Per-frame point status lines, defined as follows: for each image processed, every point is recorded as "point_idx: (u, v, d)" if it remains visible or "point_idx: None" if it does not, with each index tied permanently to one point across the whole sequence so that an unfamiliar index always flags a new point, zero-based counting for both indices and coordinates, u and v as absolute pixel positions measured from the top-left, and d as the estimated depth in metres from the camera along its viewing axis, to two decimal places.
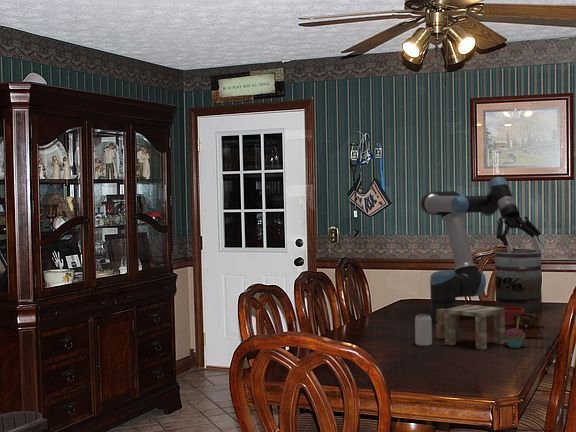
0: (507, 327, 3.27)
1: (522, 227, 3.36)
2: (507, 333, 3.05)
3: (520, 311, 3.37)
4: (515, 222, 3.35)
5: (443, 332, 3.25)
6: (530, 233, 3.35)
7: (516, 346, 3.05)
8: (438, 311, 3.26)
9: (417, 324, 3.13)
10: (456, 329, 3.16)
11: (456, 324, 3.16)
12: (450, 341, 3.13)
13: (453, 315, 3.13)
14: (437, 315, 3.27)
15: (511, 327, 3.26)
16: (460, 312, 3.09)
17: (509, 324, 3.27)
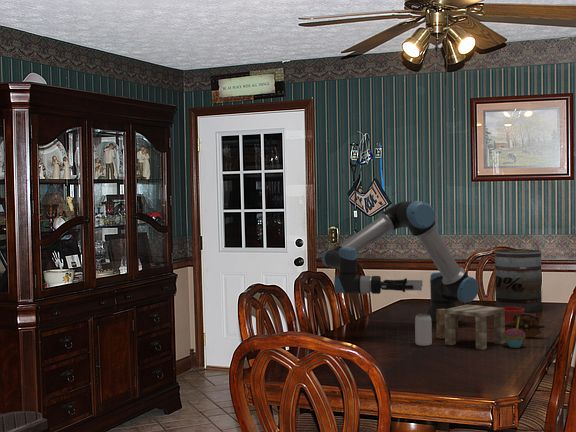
0: (507, 327, 3.27)
1: None
2: (507, 333, 3.05)
3: (520, 311, 3.37)
4: None
5: (443, 332, 3.25)
6: None
7: (516, 346, 3.05)
8: (438, 311, 3.26)
9: (417, 324, 3.13)
10: (456, 329, 3.16)
11: (456, 324, 3.16)
12: (450, 341, 3.13)
13: (453, 315, 3.13)
14: (437, 315, 3.27)
15: (511, 327, 3.26)
16: (460, 312, 3.09)
17: (509, 324, 3.27)
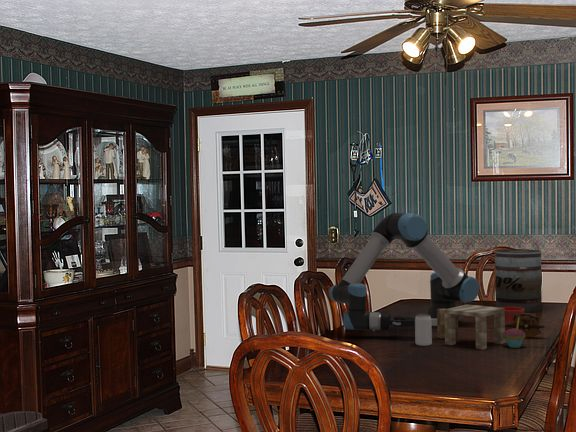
0: (507, 327, 3.27)
1: None
2: (507, 333, 3.05)
3: (520, 311, 3.37)
4: None
5: (444, 332, 3.25)
6: None
7: (516, 346, 3.05)
8: (439, 311, 3.26)
9: (417, 324, 3.13)
10: (456, 329, 3.16)
11: (456, 324, 3.16)
12: (450, 341, 3.13)
13: (453, 315, 3.13)
14: (438, 315, 3.27)
15: (511, 327, 3.26)
16: (460, 312, 3.09)
17: (509, 324, 3.27)
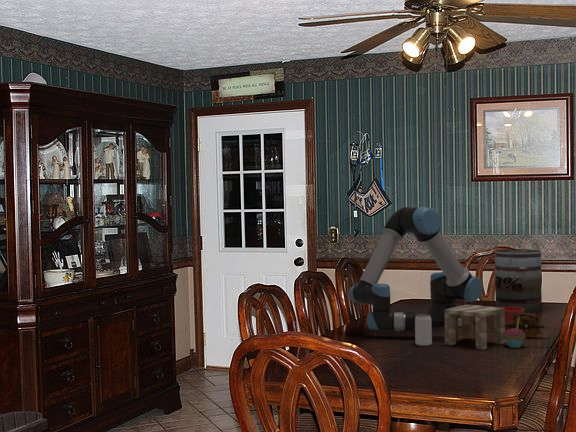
0: (507, 327, 3.27)
1: None
2: (507, 333, 3.05)
3: (520, 311, 3.37)
4: None
5: (464, 332, 3.24)
6: None
7: (516, 346, 3.05)
8: None
9: (417, 324, 3.13)
10: None
11: None
12: (450, 341, 3.13)
13: (453, 315, 3.13)
14: None
15: (511, 327, 3.26)
16: (460, 312, 3.09)
17: (509, 324, 3.27)
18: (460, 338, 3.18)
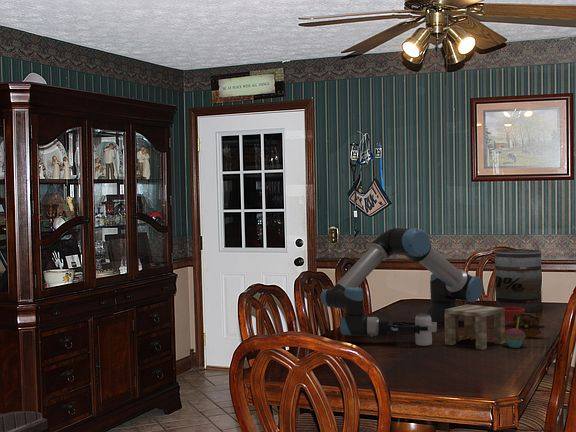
0: (507, 327, 3.27)
1: None
2: (507, 333, 3.05)
3: (520, 311, 3.37)
4: None
5: (466, 332, 3.23)
6: None
7: (516, 346, 3.05)
8: None
9: (417, 324, 3.13)
10: None
11: None
12: (450, 341, 3.13)
13: (453, 315, 3.13)
14: None
15: (511, 327, 3.26)
16: (460, 312, 3.09)
17: (509, 324, 3.27)
18: (461, 338, 3.18)
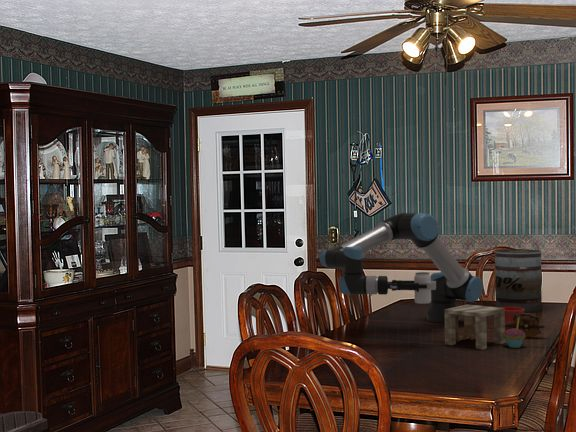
0: (507, 327, 3.27)
1: None
2: (507, 333, 3.05)
3: (520, 311, 3.37)
4: None
5: (466, 332, 3.23)
6: None
7: (516, 346, 3.05)
8: None
9: (416, 282, 3.12)
10: None
11: None
12: (450, 341, 3.13)
13: (453, 315, 3.13)
14: None
15: (511, 327, 3.26)
16: (460, 312, 3.09)
17: (509, 324, 3.27)
18: (461, 338, 3.18)
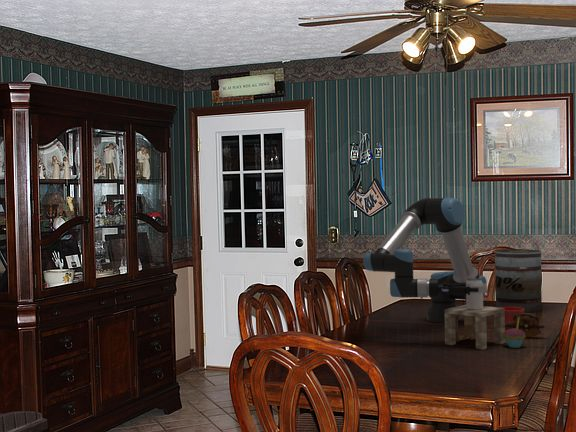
0: (507, 327, 3.27)
1: None
2: (507, 333, 3.05)
3: (520, 311, 3.37)
4: None
5: (466, 332, 3.23)
6: None
7: (516, 346, 3.05)
8: None
9: None
10: None
11: None
12: (450, 341, 3.13)
13: (453, 315, 3.13)
14: None
15: (511, 327, 3.26)
16: (460, 312, 3.09)
17: (509, 324, 3.27)
18: (461, 338, 3.18)
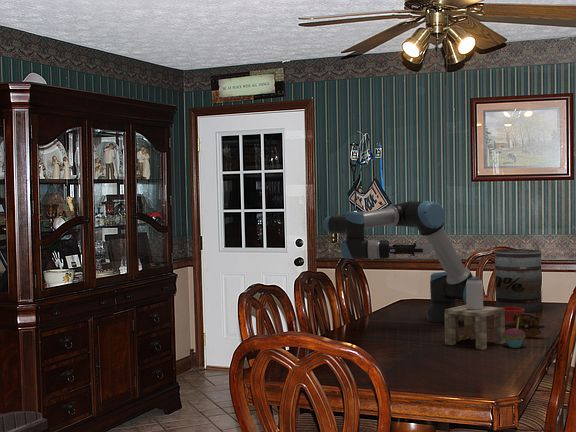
0: (507, 327, 3.27)
1: None
2: (507, 333, 3.05)
3: (520, 311, 3.37)
4: None
5: (466, 332, 3.23)
6: None
7: (516, 346, 3.05)
8: None
9: (468, 288, 3.12)
10: None
11: None
12: (450, 341, 3.13)
13: (453, 315, 3.13)
14: None
15: (511, 327, 3.26)
16: (460, 312, 3.09)
17: (509, 324, 3.27)
18: (461, 338, 3.18)
